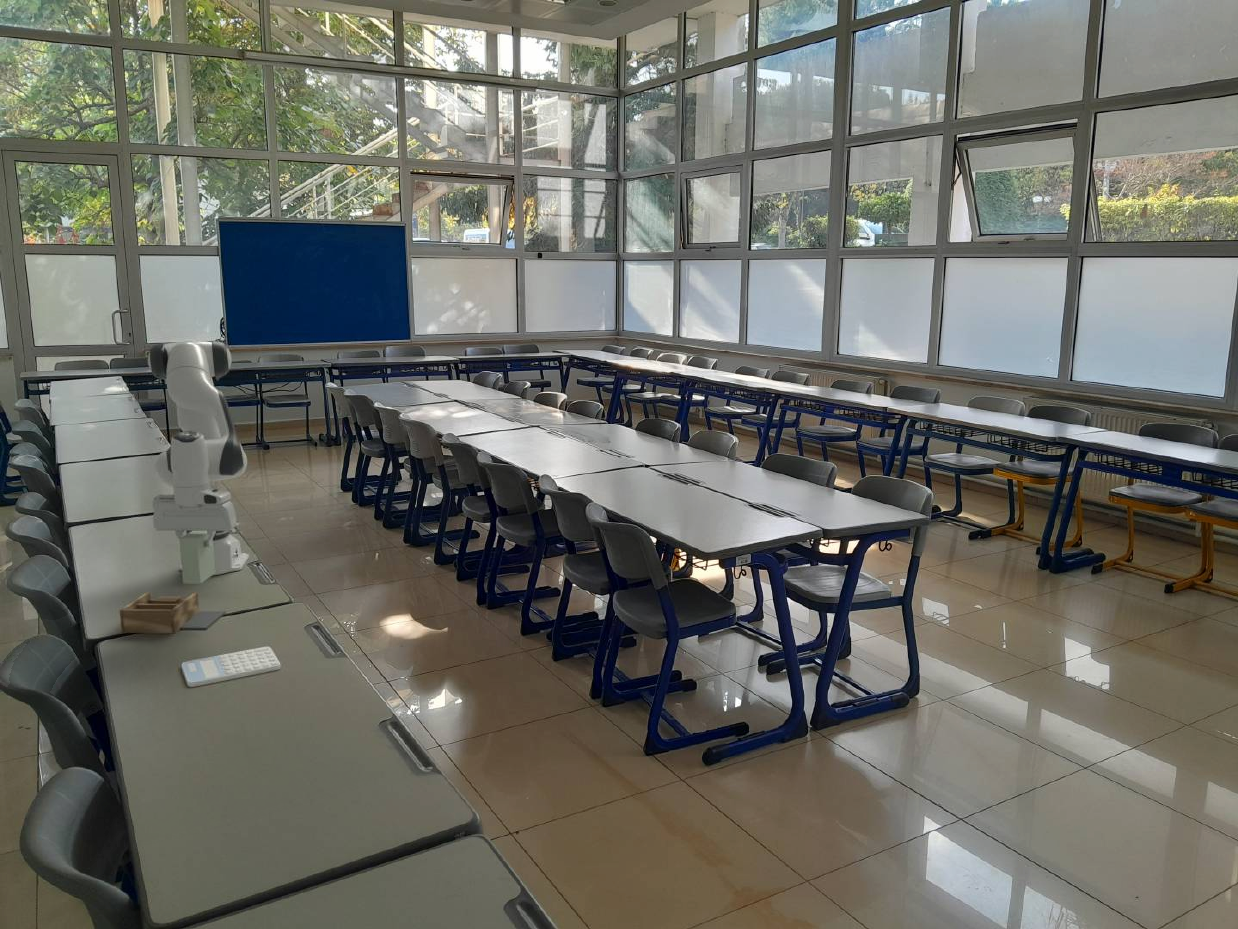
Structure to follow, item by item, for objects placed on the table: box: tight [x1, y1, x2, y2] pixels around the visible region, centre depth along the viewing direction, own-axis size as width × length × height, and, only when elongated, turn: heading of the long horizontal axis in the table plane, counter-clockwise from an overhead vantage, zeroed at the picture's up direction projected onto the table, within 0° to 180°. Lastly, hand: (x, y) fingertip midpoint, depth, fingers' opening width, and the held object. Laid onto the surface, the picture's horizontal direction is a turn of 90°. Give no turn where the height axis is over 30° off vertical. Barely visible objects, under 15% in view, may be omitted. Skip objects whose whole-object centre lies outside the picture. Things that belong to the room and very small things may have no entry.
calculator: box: [180, 646, 282, 688], centre depth 213 cm, size 13×20×2 cm, turn 122°
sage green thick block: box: [178, 531, 215, 585], centre depth 239 cm, size 4×9×12 cm, turn 1°
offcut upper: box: [153, 596, 183, 604], centre depth 244 cm, size 4×6×2 cm, turn 89°
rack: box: [119, 591, 200, 634], centre depth 240 cm, size 14×14×6 cm
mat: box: [180, 610, 226, 631], centre depth 242 cm, size 12×7×1 cm, turn 1°
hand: (196, 546), depth 238 cm, fingers closed on sage green thick block, 4 cm apart
